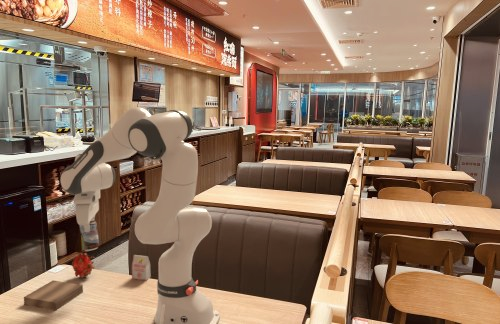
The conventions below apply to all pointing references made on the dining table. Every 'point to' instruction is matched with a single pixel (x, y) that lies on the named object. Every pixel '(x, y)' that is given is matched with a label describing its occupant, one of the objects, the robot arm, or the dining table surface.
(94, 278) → the dining table surface
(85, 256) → the dragon fruit
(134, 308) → the dining table surface
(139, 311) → the dining table surface
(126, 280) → the dining table surface
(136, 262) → the tea bag
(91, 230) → the beverage can
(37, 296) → the walnut base
